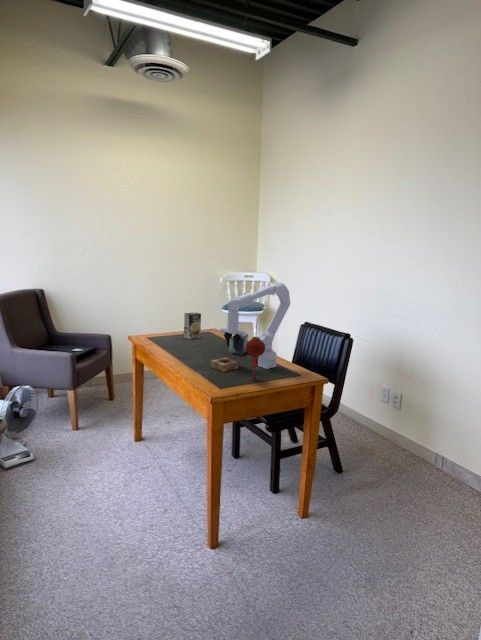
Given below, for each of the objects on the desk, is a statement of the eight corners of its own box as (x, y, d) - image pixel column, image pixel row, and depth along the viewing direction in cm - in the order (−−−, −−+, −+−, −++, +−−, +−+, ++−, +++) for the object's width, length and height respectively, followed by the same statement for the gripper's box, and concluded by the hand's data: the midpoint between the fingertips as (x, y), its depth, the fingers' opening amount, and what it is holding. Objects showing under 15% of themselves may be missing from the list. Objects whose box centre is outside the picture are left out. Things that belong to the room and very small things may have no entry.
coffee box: (189, 339, 272) (189, 314, 269) (183, 337, 277) (183, 313, 274) (200, 337, 278) (201, 313, 275) (195, 335, 283) (195, 312, 280)
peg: (236, 351, 222) (236, 338, 220) (231, 352, 220) (232, 339, 218) (232, 350, 224) (232, 337, 223) (227, 351, 222) (228, 338, 221)
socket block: (238, 368, 216) (238, 361, 215) (223, 372, 209) (223, 365, 209) (225, 363, 223) (225, 357, 223) (210, 366, 217) (210, 360, 216)
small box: (242, 355, 240) (243, 337, 238) (231, 354, 242) (232, 336, 240) (248, 351, 250) (248, 333, 248) (237, 349, 252) (238, 332, 250)
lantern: (243, 375, 206) (245, 314, 200) (262, 375, 207) (265, 315, 201) (244, 381, 197) (247, 318, 191) (265, 381, 198) (268, 318, 192)
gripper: (249, 322, 219) (248, 348, 221) (225, 319, 226) (224, 343, 228) (242, 325, 213) (241, 351, 215) (218, 321, 220) (217, 346, 223)
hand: (232, 347), depth 221 cm, fingers closed on peg, 3 cm apart
